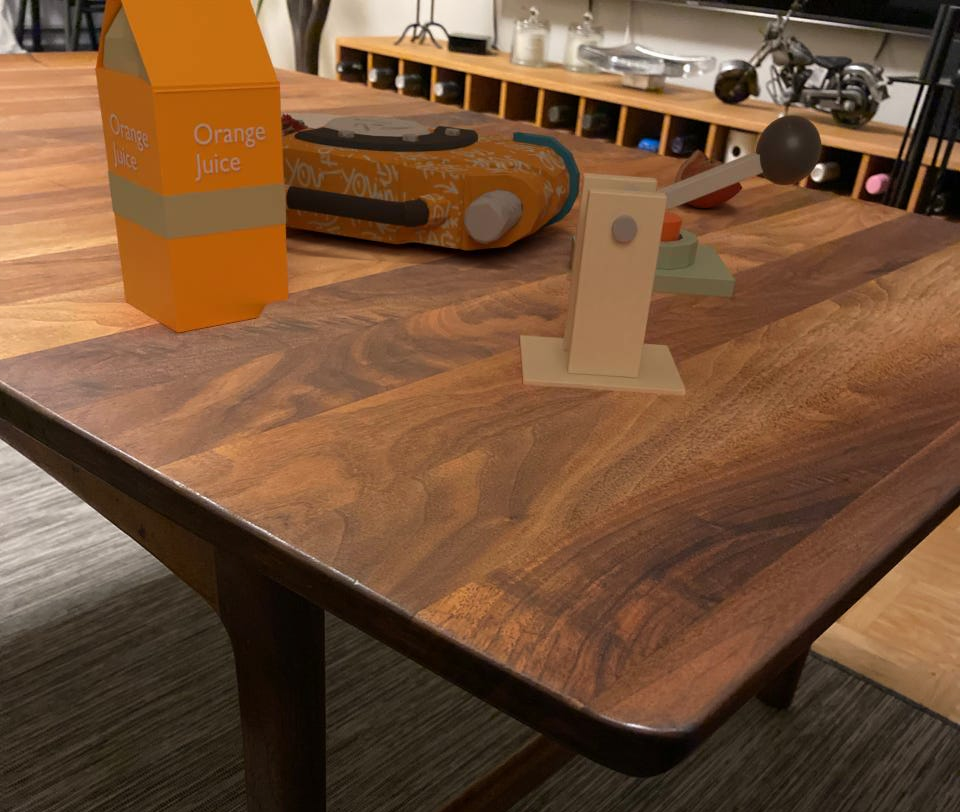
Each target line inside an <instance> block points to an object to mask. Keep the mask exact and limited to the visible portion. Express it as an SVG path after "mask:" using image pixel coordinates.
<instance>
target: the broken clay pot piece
mask: <svg viewBox="0 0 960 812" xmlns="http://www.w3.org/2000/svg"><path fill="white" fill-rule="evenodd" d="M723 164H724V163H723V162H722V161H720V160H718V159H717V157H715V156H714V157H713V158H711V157H710V158H709V157H708V156H707V154H705V152H703V151H702V150H700V149H696V150H695V151H694V152H693V153H692V154H691V155H690V156H689V157H687V159H686V160H685V161H684V162H683V163H682V164H681V165H680V166H679V169H678V171H677V172H676V173H677V174H676V176H675V179H674V184H675V183H677V182H680V181H682V180H685V179H687V178H690V177H692V176H695V175H697V174H700V173H702V172H705V171H708V170H710V169H713V168H715V167H718V166H720V165H723ZM742 190H743V187H742V184H741V182H738V183H735V184H733V185H730V186H727V187H725V188H722V189H720V190H717V191H715V192H712V193H710V194H707V195H704V196H702V197H699V198H697V199H694V200H692V201H689V202H686V203H685V204H688V205H689V206H690V207H694V208H699V209H708V208H713V207H716V206H719V205H723V204H725V203H727V202H728V201H730V200H731V199H733V198H734V197H735V196H737V195H738V194H739V193H740V192H741V191H742Z"/></svg>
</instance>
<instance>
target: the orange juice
mask: <svg viewBox="0 0 960 812" xmlns="http://www.w3.org/2000/svg"><path fill="white" fill-rule="evenodd" d="M104 6H105V7H104V12H103V18H102V25H101V32H100V37H99V43H98V44H99V45H98V51H97V58H96V65H95V67H94V70H95V78H96V86H97V93H98V101H99V109H100V116H101V117H100V118H101V123H102V131H103V139H104V146H105V155H106V161H107V169H108V170H107V175H108V181H109V182H108V184H109V190H110V199H111V207H112V212H113V215H114V216H113V217H114V222H115V230H116V237H117V245H118V253H119V254H118V255H119V260H120V268H121V276H122V282H123V284H122V285H123V291H124V298H125V302H126V303H128V304H129V305H131V306H133V307H134V308H136V309H138V310H139V311H141V312H142V313H145V314H146V315H147V316H149V317H151V318H152V319H154V320H155V321H157V322H159V323H161V324H162V325H164V326H165V327H167V328H169V329H171V330H172V331H174V332H175V333H178V334H179V333H183V332H189V331H193V330H200V329H204V328H210V327H215V326H220V325H225V324H231V323H236V322H237V323H238V322H241V321H247V320H252V319H258V318H260V316H261V314H262V312H263V310H264V309H265V307H266V306H267V304H269V303H270V304H271V303H275V302H281V301H287V300H289V278H288V276H289V275H288V253H287V251H288V250H287V234H286V233H287V229H286V225H285V224H286V204H285V183H284V175H283V150H282V125H281V113H282V103H281V81H279V79H278V76H277V74H276V71H275V67H274V64H273V62H272V58H271V57H270V53H269V50H268V48H267V44H266V42H265V39H264V36H263V32H262V30H261V26H260V24H259V20H258V17H257V15H256V13H255V10H254V7H253V4H252V1H251V0H105V5H104Z"/></svg>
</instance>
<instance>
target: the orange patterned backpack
mask: <svg viewBox="0 0 960 812" xmlns="http://www.w3.org/2000/svg"><path fill="white" fill-rule="evenodd" d="M347 116H348V117H341V118H333V119H332V120H330V121H329V122H328V123H327V124H326V125H325V126H322V127H319V128H316V129H311V128H307V129H304V130H301V131H298V132H295V133H292V134H290V135H287V136H284V137H282V150H283V175H284V183H285V204H286V224H285V225H286V227H287V228H292V229H300V230H304V231H305V230H306V231H311V232H312V231H313V232H318V233H323V234H329V235H335V236H336V235H337V236H343V237H349V238H356V239H362V240H367V241H375V242H380V243H385V244H394V245H402V244H409V243H419V244H424V245H431V246H436V247H443V248H450V249H457V250H458V249H460V250H462V251H475V250H486V249H497V248H507V247H508V246H510V245H511V244H513V243H515V242H517V241H519V240H522V239H523V238H527V237H528V236H530V235H533V234H535V233H536V232H537V231H538V230H543V229H545V228H547V227H549V226H551V225H554V224H556V223H559V222H560V221H562V220H563V219H564V218H565V217H566V216H567V215H568V214H569V213H570V212H571V211H572V208H573V207H574V204H575V202H576V201H577V199H578V196H580V195H579V194H580V180H581V172H580V170H579V167H578V164H577V162H576V160H575V157H574V155H573V153H572V152H571V151H570V150H569V149H568V148H567V147H566V146H564V145H563V144H562V143H561V142H560V141H559V140H558V139H556V138H555V137H554V136H551V135H544V134H535V133H528V132H521V131H515V132H514V131H513V132H512V133H513V134H512V136H508V135H502V134H494V133H492V134H491V133H486V132H485V133H484V132H477V131H476V130H474V129H468V128H467V129H466V128H460V127H452V126H445V125H438V126H436V127H435V128H429V127H428V126H425V125H423V124H421V123H419V122H416V121H414V120H408V119H401V118H394V117H387V116H377V115H376V116H374V115H373V116H369V115H347Z"/></svg>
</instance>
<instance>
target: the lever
mask: <svg viewBox="0 0 960 812" xmlns="http://www.w3.org/2000/svg"><path fill="white" fill-rule="evenodd" d="M821 154H822V139H821V135H820V132H819V130H818V129H817V127H816V126H815V125H814V123H813V122H812V121H810V120H809V119H807V118H806V117H804V116H800V115H795V114H791V115H790V114H789V115H783V116H781V117H778V118H776V119H775V120H772V121H771V122H770V123H769V124H768V125H767V126H766V127H765V128H764V129H763V131H762V132H761V134H760V136H759V138H758V139H757V142H756V148H755V151H754V152H751V153H750V152H749V153H748V154H746V155H743V156H741V157H738V158H736V159H735V158H734V159H733V160H730V161H728V162H725V163H723V165H720V166H718V167H715V168H713V169H710V170H708V171H705V172H702V173H700V174H697V175H695V176H692V177H690V178H687V179H685V180H682V181H680V182H677V183H675V182H674V183H673V184H670V185H667V186H665V187H662V188H660V189H657V190H656V191H655V192H653V193H664V194H665V195H666V196H667V203H666V209H665V211H666V212H667V211H669V210H671V209H673V208H676V207H679V206H681V205H683V204H687V203H686V202H689V201H692V200H694V199H697V198H699V197H702V196H704V195H707V194H710V193H712V192H715V191H717V190H720V189H722V188H725V187H727V186H730V185H733V184H735V183H738V182H739V183H741V182H742V181H746V180H748V179H750V178H754V177H755V176H757V175H758V176H759V175H760V174H761V175H762V176H763V177H764V178H765V180H767V181H769V182H770V183H772V184H775V185H779V186H791V185H794V184H798V183H799V182H801V181H803V180H805V179H806V178H807V177H809V175H810V174H811V173H812V172H813V171H814V169H815V168H816V166H817V165H818V162H819V160H820V157H821ZM620 190H626V191H638V190H637V188H636V186H635V185H634V184H633V185H630V186H628V187H625V188H623V189H620Z"/></svg>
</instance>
